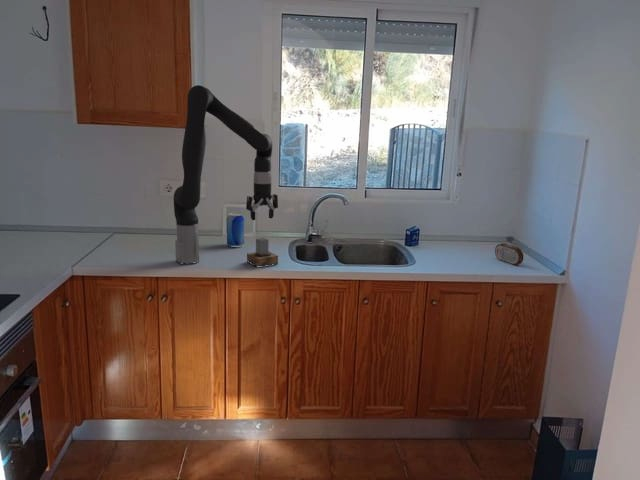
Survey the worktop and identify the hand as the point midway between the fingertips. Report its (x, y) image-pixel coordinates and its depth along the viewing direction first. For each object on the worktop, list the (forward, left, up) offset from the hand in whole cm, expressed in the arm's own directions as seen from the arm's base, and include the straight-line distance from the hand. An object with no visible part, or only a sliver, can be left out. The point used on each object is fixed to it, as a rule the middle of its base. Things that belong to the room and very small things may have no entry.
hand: (262, 219), depth 233 cm
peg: (0, 0, -20) cm, 20 cm away
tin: (+100, -55, -20) cm, 116 cm away
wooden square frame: (0, 0, -20) cm, 20 cm away
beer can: (+3, +32, -20) cm, 38 cm away
